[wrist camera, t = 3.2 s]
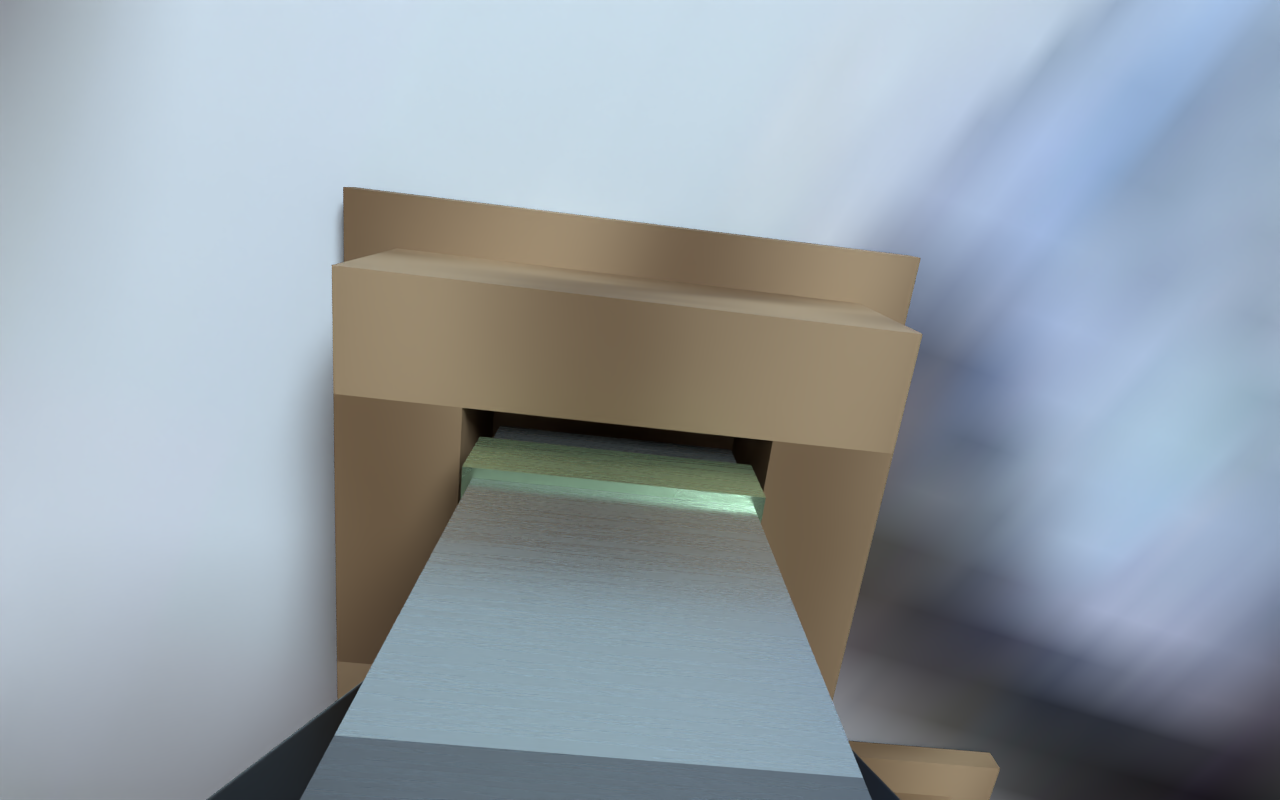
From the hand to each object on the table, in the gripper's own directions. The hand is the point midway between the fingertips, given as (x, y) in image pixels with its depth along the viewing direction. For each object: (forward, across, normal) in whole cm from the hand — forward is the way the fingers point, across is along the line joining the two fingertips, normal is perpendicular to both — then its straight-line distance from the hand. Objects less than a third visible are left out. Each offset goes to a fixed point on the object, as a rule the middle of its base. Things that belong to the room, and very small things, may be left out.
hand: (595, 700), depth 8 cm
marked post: (+5, 0, 0) cm, 5 cm away
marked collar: (+7, 0, 0) cm, 7 cm away
